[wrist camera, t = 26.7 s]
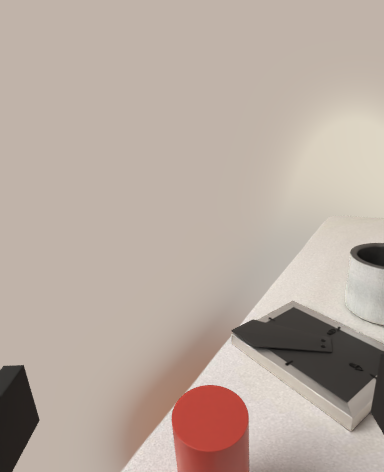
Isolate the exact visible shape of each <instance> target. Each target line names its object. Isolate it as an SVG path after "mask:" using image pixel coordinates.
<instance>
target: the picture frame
mask: <svg viewBox="0 0 384 472" xmlns="http://www.w3.org/2000/svg"><path fill="white" fill-rule="evenodd" d="M232 332H233V334H232V345H234V346H235V347H237V348H238V349H239V350H241V351H242V352H243V353H245V354H246V355H247V356H249V357H250V358H251V359H253V360H254V361H255V362H257V363H258V364H260V365H261V366H262V367H264V368H265V369H266V370H268V371H269V372H270V373H272V374H273V375H274V376H276V377H277V378H279V379H280V380H281V381H283V382H284V383H285V384H287V385H288V386H289V387H291V388H292V389H293V390H295V391H296V392H298V393H299V394H300V395H302V396H303V397H304V398H306V399H307V400H308V401H310V402H311V403H312V404H314V405H315V406H317V407H318V408H319V409H321V410H322V411H323V412H325V413H326V414H327V415H329V416H330V417H331V418H333V419H334V420H336V421H337V422H338V423H340V424H341V425H342V426H344V427H345V428H346V429H348V430H349V431H350V432H351V431H352V430H353V429H354V428H355V427H356V426H357V425H358V424H359V423H360V422H361V421H362V420H363V419H364V418H365V417H366V416H367V415H368V414H369V413H370V411H371V406H372V401H373V395H374V389H375V384H376V378H377V372H378V366H379V361H380V355H381V354H384V344H383V343H381V342H379V341H377V340H375V339H372V338H370V337H368V336H366V335H364V334H362V333H360V332H358V331H356V330H353V329H351V328H349V327H347V326H345V325H343V324H341V323H339V322H337V321H335V320H332V319H330V318H328V317H326V316H324V315H322V314H320V313H318V312H316V311H313V310H311V309H309V308H307V307H305V306H303V305H301V304H299V303H297V302H295V301H292V302H290V303H288V304H286V305H284V306H282V307H280V308H279V309H277V310H275V311H273V312H271V313H269V314H268V315H266V316H264V317H262V318H260V319H258V320H251V321H249V322H247V323H245V324H243V325H241V326H239V327H237V328H235V329H233V330H232Z"/></svg>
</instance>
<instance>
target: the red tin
mask: <svg viewBox="0 0 384 472" xmlns="http://www.w3.org/2000/svg"><path fill="white" fill-rule="evenodd" d="M172 427H173V435H174V444H175V452H176V461H177V469H178V472H249V417H248V411H247V408H246V406H245V404H244V402H243V401H242V399H241V398H240V397H239V396H238V395H237V394H236V393H234V392H233V391H231V390H229V389H227V388H224V387H221V386H215V385H205V386H200V387H196V388H194V389H192V390H190V391H188V392H186V393H185V394H184V395H183V396H182V397H181V398H180V399H179V400H178V401H177V403H176V405H175V406H174V409H173V412H172Z"/></svg>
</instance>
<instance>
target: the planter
mask: <svg viewBox="0 0 384 472" xmlns="http://www.w3.org/2000/svg"><path fill="white" fill-rule="evenodd" d="M345 303H346V306H347V307H348V308H349V310H351V311H352V312H353V313H354V314H356V315H357V316H359V317H360V318H362V319H364V320H367V321H369V322H372V323H375V324H379V325H383V326H384V243H369V244H362V245H358V246H356V247H354V248H352V249H351V252H350V260H349V269H348V277H347V285H346V293H345Z"/></svg>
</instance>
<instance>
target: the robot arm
mask: <svg viewBox="0 0 384 472" xmlns="http://www.w3.org/2000/svg"><path fill="white" fill-rule="evenodd" d="M371 414H372V415H373V417H374V419H375V420H376V422H377V424H378V425H379V427H380V429H381V430H382V432H383V434H384V354H381V355H380V361H379V366H378V372H377V378H376V384H375V389H374V395H373V401H372V406H371ZM38 422H39V417H38V413H37V410H36V406H35V403H34V399H33V396H32V392H31V389H30V386H29V382H28V379H27V376H26V372H25V369H24V365H21V366H20V365H18V366H3V367H2V369H1V370H0V472H12V471H13V469H14V467H15V465H16V463H17V461H18V460H19V458H20V456H21V454H22V452H23V450H24V448H25V447H26V445H27V443H28V441H29V439H30V437H31V435H32V433H33V432H34V430H35V428H36V426H37V424H38Z"/></svg>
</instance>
